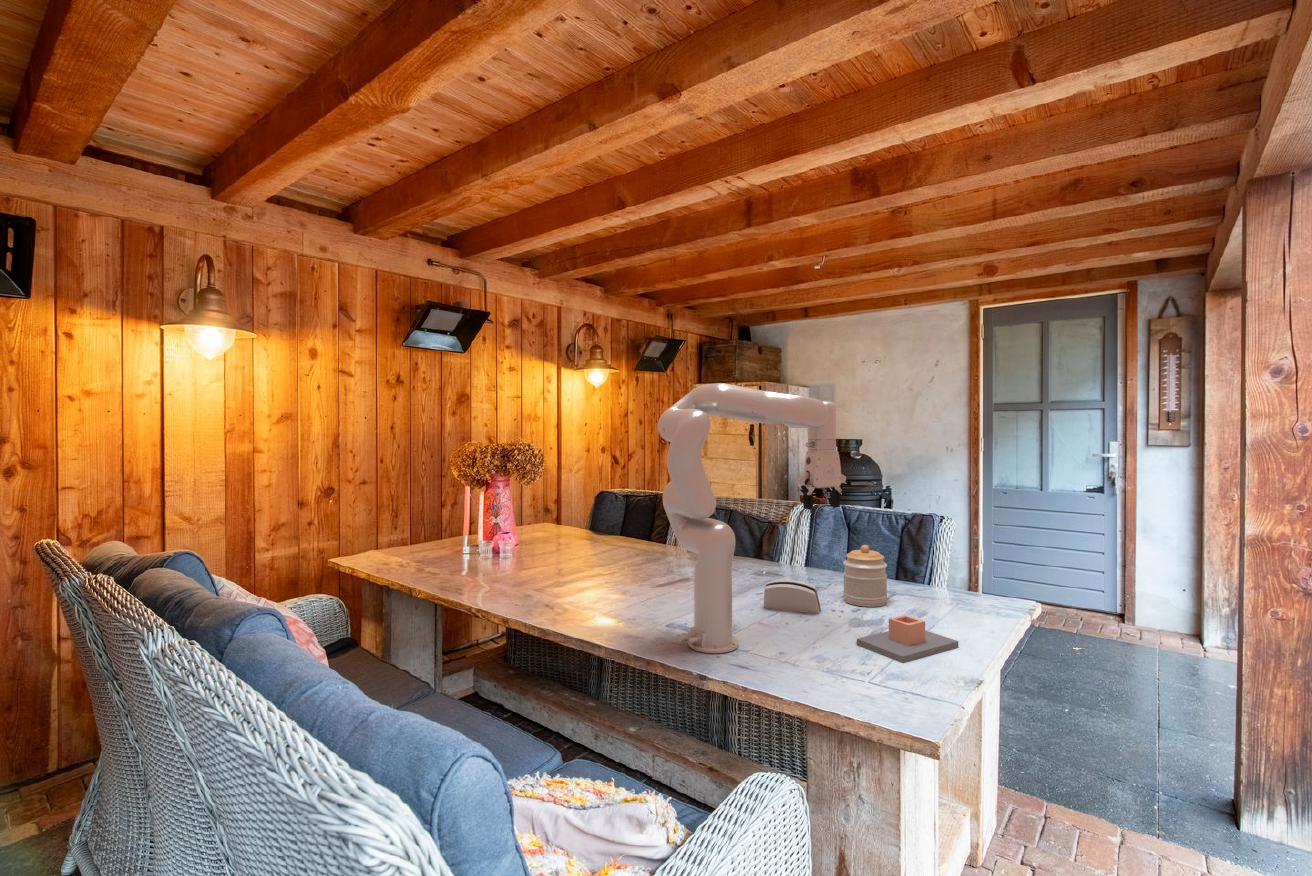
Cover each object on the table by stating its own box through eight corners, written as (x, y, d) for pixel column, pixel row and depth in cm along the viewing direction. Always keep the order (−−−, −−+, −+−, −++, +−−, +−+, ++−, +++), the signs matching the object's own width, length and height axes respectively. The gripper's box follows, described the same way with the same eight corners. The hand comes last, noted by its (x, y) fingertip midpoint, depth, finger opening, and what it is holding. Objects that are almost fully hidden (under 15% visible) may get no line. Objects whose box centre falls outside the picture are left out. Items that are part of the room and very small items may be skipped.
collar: (908, 645, 155) (908, 625, 155) (888, 638, 160) (888, 618, 160) (925, 641, 158) (925, 621, 158) (905, 634, 163) (905, 615, 163)
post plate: (902, 662, 148) (902, 639, 148) (856, 644, 160) (856, 622, 160) (958, 647, 158) (958, 625, 158) (911, 631, 170) (911, 610, 170)
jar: (873, 595, 206) (873, 540, 205) (895, 606, 193) (895, 548, 192) (835, 597, 203) (835, 542, 203) (855, 609, 191) (855, 550, 190)
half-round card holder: (822, 608, 191) (820, 580, 188) (819, 618, 187) (817, 589, 184) (766, 603, 198) (763, 575, 194) (763, 612, 194) (760, 583, 190)
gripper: (807, 447, 169) (806, 511, 170) (854, 445, 177) (854, 507, 178) (788, 446, 176) (788, 508, 176) (835, 445, 184) (835, 504, 184)
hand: (821, 508), depth 177 cm, fingers open, 9 cm apart
